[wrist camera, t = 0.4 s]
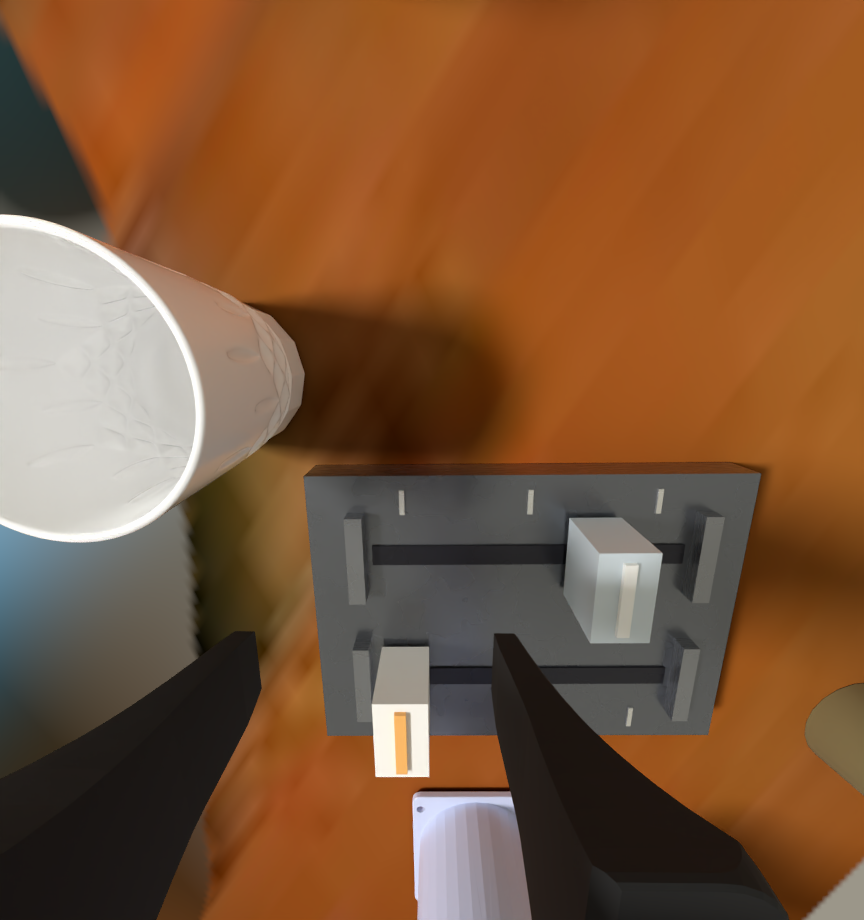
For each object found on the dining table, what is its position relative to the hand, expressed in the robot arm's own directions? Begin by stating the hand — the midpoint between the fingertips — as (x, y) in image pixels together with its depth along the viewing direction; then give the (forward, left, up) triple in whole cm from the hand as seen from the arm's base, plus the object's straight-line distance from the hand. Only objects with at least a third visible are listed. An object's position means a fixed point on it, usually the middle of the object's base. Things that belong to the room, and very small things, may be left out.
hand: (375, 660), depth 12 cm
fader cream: (-7, 0, -7) cm, 11 cm away
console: (-4, -6, -10) cm, 12 cm away
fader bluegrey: (0, -9, -7) cm, 12 cm away
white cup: (+8, +8, -10) cm, 15 cm away
